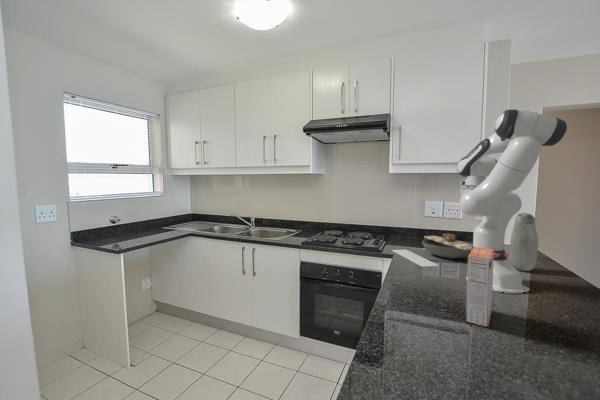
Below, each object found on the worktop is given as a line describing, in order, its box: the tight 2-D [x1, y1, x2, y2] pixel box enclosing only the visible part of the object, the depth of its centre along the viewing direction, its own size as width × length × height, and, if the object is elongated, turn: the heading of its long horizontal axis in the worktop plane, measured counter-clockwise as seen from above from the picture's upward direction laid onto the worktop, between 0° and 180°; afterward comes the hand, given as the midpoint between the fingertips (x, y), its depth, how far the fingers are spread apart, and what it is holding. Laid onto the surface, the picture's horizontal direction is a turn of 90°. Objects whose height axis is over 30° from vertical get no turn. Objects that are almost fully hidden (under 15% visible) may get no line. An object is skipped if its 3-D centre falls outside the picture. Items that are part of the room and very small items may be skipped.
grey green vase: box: [509, 212, 539, 272], centre depth 131 cm, size 10×10×28 cm
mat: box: [391, 249, 440, 267], centre depth 154 cm, size 34×10×1 cm, turn 7°
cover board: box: [423, 233, 472, 250], centre depth 155 cm, size 33×8×5 cm, turn 12°
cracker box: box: [465, 247, 494, 328], centre depth 85 cm, size 14×6×21 cm, turn 141°
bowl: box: [421, 238, 473, 260], centre depth 156 cm, size 27×28×8 cm
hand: (475, 207), depth 151 cm, fingers open, 8 cm apart
